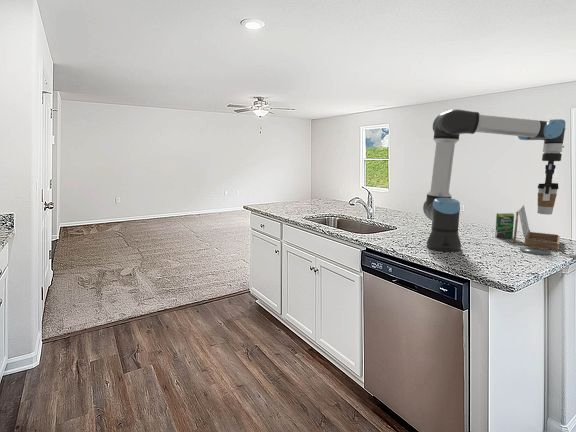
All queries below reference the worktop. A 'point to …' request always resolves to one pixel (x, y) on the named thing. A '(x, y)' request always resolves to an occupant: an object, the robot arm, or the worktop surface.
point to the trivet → (535, 250)
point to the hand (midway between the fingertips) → (546, 199)
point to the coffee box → (504, 225)
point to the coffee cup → (546, 206)
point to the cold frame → (535, 234)
